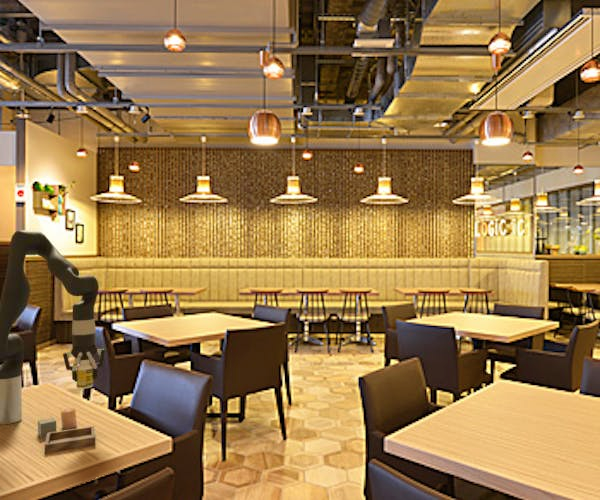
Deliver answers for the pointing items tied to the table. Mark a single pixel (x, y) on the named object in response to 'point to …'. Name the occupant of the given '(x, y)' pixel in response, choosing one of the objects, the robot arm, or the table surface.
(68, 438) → the walnut tray
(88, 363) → the supplement bottle
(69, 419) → the terracotta cylinder
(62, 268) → the robot arm
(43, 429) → the blue-grey cube
